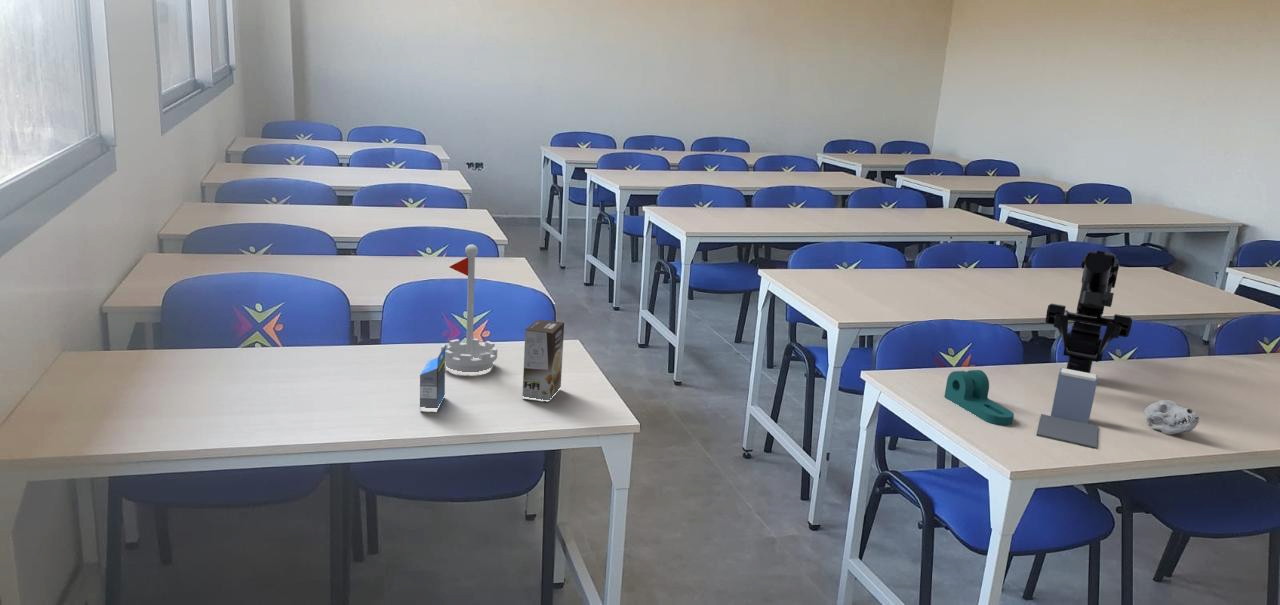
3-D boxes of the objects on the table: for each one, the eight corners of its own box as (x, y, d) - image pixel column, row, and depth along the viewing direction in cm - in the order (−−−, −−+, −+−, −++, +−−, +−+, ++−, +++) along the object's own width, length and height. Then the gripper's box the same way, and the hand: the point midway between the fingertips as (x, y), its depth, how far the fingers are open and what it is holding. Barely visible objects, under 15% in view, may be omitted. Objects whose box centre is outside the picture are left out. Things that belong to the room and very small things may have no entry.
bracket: (944, 398, 224) (949, 367, 222) (967, 396, 227) (972, 366, 225) (994, 427, 208) (1000, 394, 206) (1018, 425, 210) (1024, 392, 208)
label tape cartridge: (427, 396, 202) (428, 342, 199) (445, 397, 202) (446, 343, 199) (419, 412, 194) (419, 355, 190) (437, 413, 194) (438, 357, 191)
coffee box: (549, 403, 203) (552, 333, 199) (521, 399, 204) (524, 329, 200) (561, 389, 212) (564, 321, 208) (534, 385, 213) (537, 318, 209)
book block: (1051, 412, 220) (1060, 367, 217) (1088, 419, 216) (1098, 374, 213) (1050, 416, 216) (1059, 371, 214) (1088, 424, 213) (1097, 379, 210)
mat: (1040, 415, 217) (1041, 413, 217) (1097, 427, 212) (1097, 425, 212) (1036, 435, 205) (1036, 433, 204) (1096, 448, 200) (1096, 447, 199)
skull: (1158, 407, 220) (1198, 388, 210) (1171, 444, 216) (1212, 426, 206) (1131, 407, 217) (1171, 387, 207) (1144, 443, 213) (1185, 425, 203)
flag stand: (488, 357, 230) (492, 238, 222) (503, 375, 218) (507, 250, 210) (435, 361, 224) (437, 239, 216) (447, 379, 213) (449, 251, 205)
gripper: (1054, 271, 228) (1042, 325, 221) (1139, 284, 220) (1130, 340, 213) (1051, 295, 237) (1039, 348, 230) (1132, 309, 229) (1123, 363, 222)
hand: (1082, 349), depth 224 cm, fingers open, 7 cm apart
